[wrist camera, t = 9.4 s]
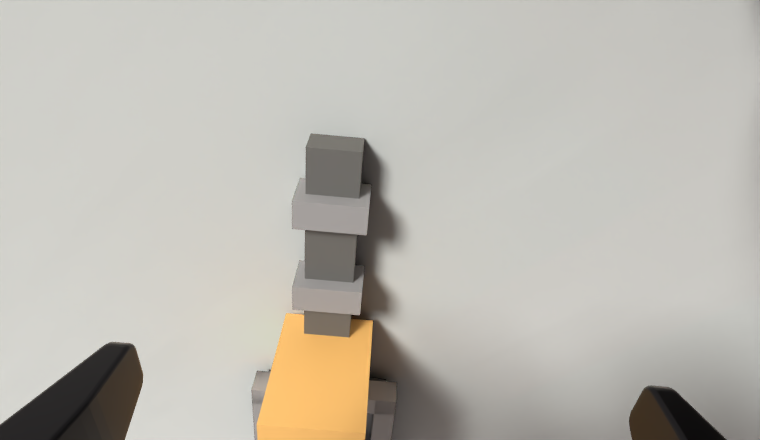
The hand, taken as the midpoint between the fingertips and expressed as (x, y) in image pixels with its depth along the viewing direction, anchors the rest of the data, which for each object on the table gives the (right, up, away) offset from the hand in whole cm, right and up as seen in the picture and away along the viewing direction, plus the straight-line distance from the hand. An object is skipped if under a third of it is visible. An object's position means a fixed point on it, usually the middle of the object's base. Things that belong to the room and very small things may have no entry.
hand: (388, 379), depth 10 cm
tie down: (-3, -3, +16) cm, 17 cm away
